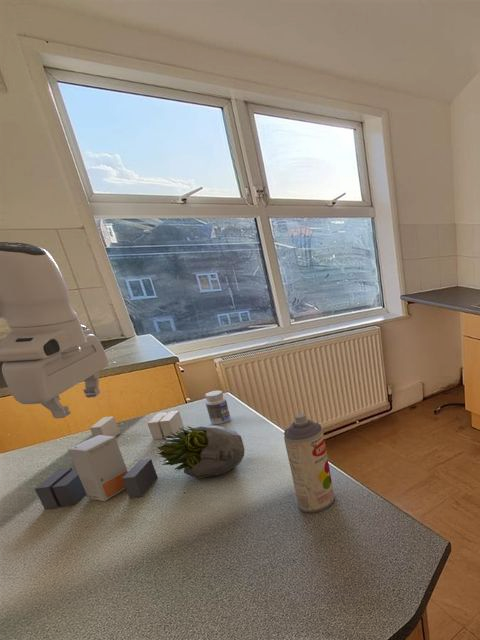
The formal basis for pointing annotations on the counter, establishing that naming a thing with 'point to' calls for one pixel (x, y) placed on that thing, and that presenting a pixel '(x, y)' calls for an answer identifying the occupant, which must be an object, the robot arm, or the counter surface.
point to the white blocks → (157, 425)
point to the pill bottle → (217, 407)
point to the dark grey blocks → (69, 489)
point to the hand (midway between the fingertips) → (79, 405)
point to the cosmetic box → (99, 467)
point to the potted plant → (203, 450)
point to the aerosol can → (309, 465)
